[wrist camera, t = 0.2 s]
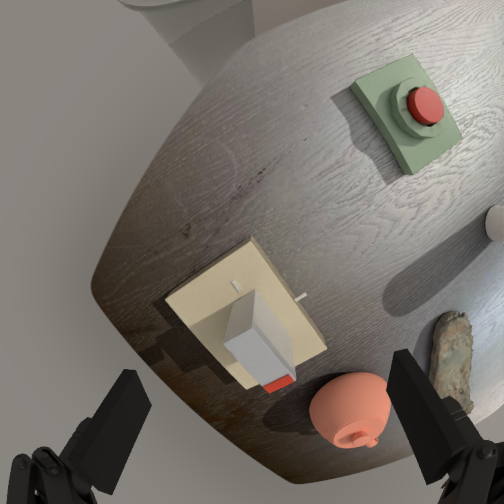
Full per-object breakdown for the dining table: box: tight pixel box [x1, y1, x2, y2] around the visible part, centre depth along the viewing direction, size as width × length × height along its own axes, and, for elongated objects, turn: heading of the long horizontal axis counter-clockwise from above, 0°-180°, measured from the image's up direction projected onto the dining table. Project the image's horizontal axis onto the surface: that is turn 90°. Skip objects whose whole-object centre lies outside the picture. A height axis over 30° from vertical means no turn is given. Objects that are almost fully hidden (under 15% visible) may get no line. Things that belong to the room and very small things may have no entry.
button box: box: [350, 54, 463, 175], centre depth 24 cm, size 12×10×4 cm
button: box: [407, 87, 444, 125], centre depth 21 cm, size 4×4×2 cm
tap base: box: [165, 235, 327, 390], centre depth 32 cm, size 16×14×3 cm
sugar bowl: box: [309, 372, 391, 448], centre depth 32 cm, size 12×14×10 cm
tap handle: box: [223, 289, 296, 393], centre depth 26 cm, size 7×3×8 cm, turn 35°
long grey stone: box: [428, 311, 474, 415], centre depth 34 cm, size 35×5×10 cm
